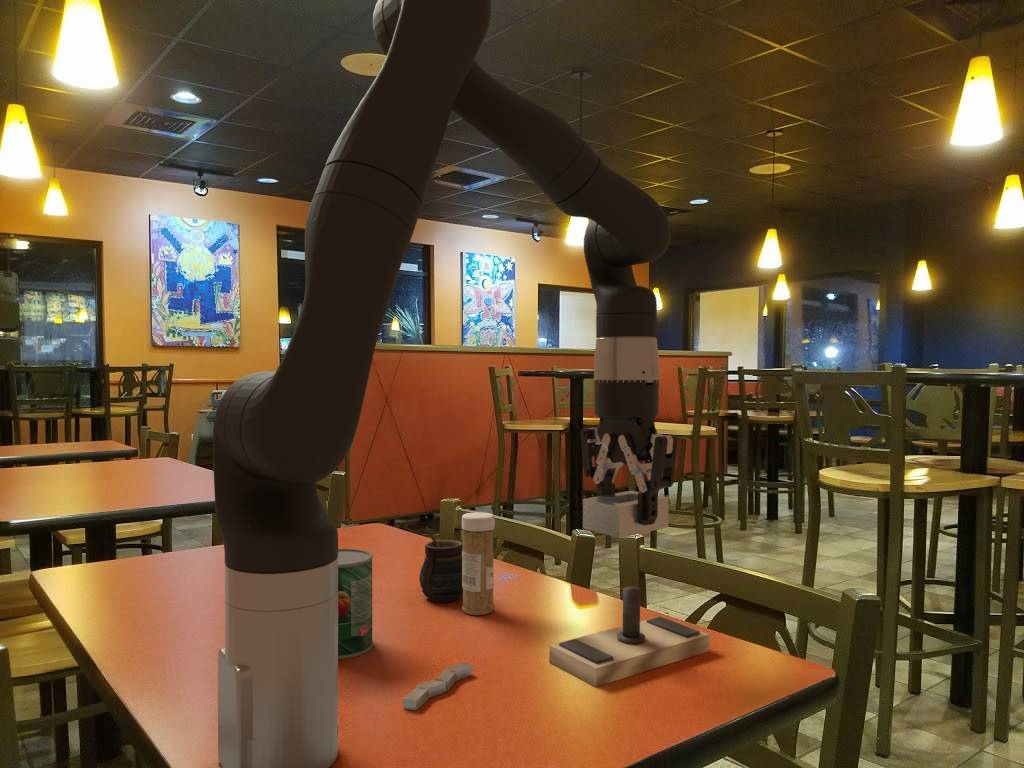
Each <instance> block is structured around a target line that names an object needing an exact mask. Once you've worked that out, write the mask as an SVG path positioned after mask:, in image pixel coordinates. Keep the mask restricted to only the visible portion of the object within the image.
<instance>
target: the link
mask: <svg viewBox="0 0 1024 768" xmlns="http://www.w3.org/2000/svg"><path fill="white" fill-rule="evenodd" d="M639 492H640V491H635V490H629V491H621V492H615V494H610V495H604V496H598V497H597V496H593V497H588V498H582V513H583V514H582V519H583V520H582V524H583V526H582V529H584V530H588V531H592V532H596V533H599V534H603V535H607V536H609V537H610V536H611V537H613V538H618V539H622V538H625V537H629V536H636V535H640V534H643V533H645V534H646V533H648V532H653V531H658V530H661V529H667V528H669V498H668V497H666V496H662V495H658V506H657V507H658V510H657V511H658V516H657V519H656V520H655V523H654V524H651V525H645V526H644V525H640V524H639V523H638V493H639Z"/></svg>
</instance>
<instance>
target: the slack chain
mask: <svg viewBox="0 0 1024 768" xmlns="http://www.w3.org/2000/svg"><path fill="white" fill-rule="evenodd" d="M472 675H473V665H472V664H470V663H467V662H464V661H463V662H460V663H457V664H455V665H453V666H452V665H451V666H449V667H446V668H444V670H443V671H442V672H441V673H440V674H439V675H438V676H437V677H436V678H435V679H432V680H429V681H425V682H423V683H420V684H415V688H413V690H411V691H410V692H409V693H408V694H407V695H405V696H404V697H403V699H402V700H403V707H402V708H403V709H405V710H410V711H411V710H412V711H417V710H419V709H420V707H422V706H423V705H424V704H425V703H426V702H427V701H429V699H430V698H432V697H435V696H439V695H442V694H445V693H447V692H449V690H450V689H451V688H452V687H453V686H454V684H455V683H456V681H459V680H462V679H465V678H467V677H470V676H472Z"/></svg>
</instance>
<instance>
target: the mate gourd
mask: <svg viewBox="0 0 1024 768" xmlns="http://www.w3.org/2000/svg"><path fill="white" fill-rule="evenodd" d="M424 527H425V526H424ZM425 529H426V530H427V532H428V535H429V536H430V538H431V540H432V541H429V542H427V543H425V544H424V553H425V554H424V555H425V556H424V557H425V558H424V561H423V563H422V566H421V569H420V571H419V572H420V573H419V578H418V579H419V583H420V588H421V593H423V595H424V596H425V597H426V598H427V599H428V600H430V601H432V602H434V603H436V602H437V603H450V602H454V601H457V600H459V599H460V598H461V597H463V587H462V550H463V542H461V541H459V540H452V539H446V540H445V539H443V540H438V539H437V538H436V537H435V535H434V534H433V532H432V531H431V529H430V527H429V526H426V527H425Z"/></svg>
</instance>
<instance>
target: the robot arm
mask: <svg viewBox="0 0 1024 768" xmlns="http://www.w3.org/2000/svg"><path fill="white" fill-rule="evenodd" d="M372 14H373V17H372V27H373V34H374V36H375V40H376V41H377V44H378V45H379V48H380V49H381V51H382V52H383V54H384V55H385V60H384V61H383V63H382V66H381V68H380V71H378V74H377V75H376V77H375V79H374V80H373V82H372V84H371V85H370V87H369V88H368V90H367V92H366V93H365V95H364V96H363V97H362V99H361V100H360V102H359V104H358V106H357V107H356V108H355V110H354V112H352V113H353V114H352V115H351V117H350V118H349V120H348V121H347V123H346V125H345V126H344V128H343V130H342V132H341V133H340V135H339V136H338V139H337V140H336V142H335V143H334V146H333V147H332V150H331V151H330V153H329V156H328V158H327V161H326V162H325V165H324V167H323V170H322V173H321V176H320V178H319V181H318V184H317V187H316V189H315V192H314V195H313V197H312V199H311V202H310V205H309V209H308V212H307V216H306V221H305V222H306V223H305V229H304V269H305V273H304V275H305V288H304V294H303V295H304V296H303V302H302V305H301V311H300V314H299V317H298V320H297V323H296V326H295V328H294V329H293V330H294V331H293V333H292V336H291V338H290V340H289V342H288V345H287V347H286V350H285V353H284V354H283V357H282V359H281V361H280V363H279V365H278V366H277V369H276V370H269V371H268V370H266V371H264V370H263V371H256V372H253V373H252V372H251V373H249V374H247V375H244V376H242V377H239V379H237V380H236V381H235V382H233V383H232V384H231V385H230V386H229V387H228V388H227V389H226V390H225V392H224V393H223V395H222V397H221V398H220V401H219V403H218V405H217V408H216V411H215V415H214V420H213V421H214V422H213V430H212V461H213V462H212V465H213V485H214V486H213V488H214V489H213V490H214V507H215V508H214V510H215V519H216V525H217V528H218V532H219V534H220V536H221V539H222V542H223V549H224V647H223V648H220V649H218V652H217V755H218V756H217V760H218V762H219V764H220V765H221V767H222V768H330V767H331V766H332V765H333V764H334V762H335V761H336V760H337V757H338V754H339V752H338V750H339V748H338V747H339V743H338V742H339V712H338V711H339V659H338V549H339V534H338V527H337V526H336V524H335V522H334V521H333V519H332V518H331V517H330V516H329V514H328V513H327V511H326V510H325V508H324V507H323V505H322V503H321V499H320V497H319V495H318V490H317V482H320V481H322V480H324V479H325V478H328V477H329V476H330V475H331V474H333V473H334V471H336V470H337V468H339V467H340V465H341V464H342V463H343V461H344V460H345V458H346V457H347V456H348V453H349V451H350V449H351V447H352V444H353V442H354V439H355V436H356V433H357V429H358V425H359V422H360V419H361V418H360V417H361V414H362V408H363V404H364V402H365V401H364V400H365V394H366V390H367V387H368V381H369V377H370V373H371V368H372V363H373V358H374V354H375V350H376V345H377V342H378V339H379V335H380V331H381V328H382V325H383V322H384V319H385V316H386V313H387V311H388V308H389V304H390V301H391V298H392V295H393V292H394V289H395V286H396V283H397V279H398V276H399V272H400V270H401V267H402V263H403V261H404V259H405V256H406V253H407V250H408V249H409V246H410V243H411V241H412V238H413V234H414V231H415V229H416V225H417V222H418V221H419V220H418V219H419V217H420V213H421V211H422V208H423V205H424V201H425V198H426V193H427V190H428V187H429V184H430V181H431V178H432V175H433V171H434V169H435V166H436V163H437V159H438V156H439V154H440V150H441V147H442V144H443V142H444V141H443V140H444V137H445V134H446V131H447V127H448V123H449V119H450V118H451V114H452V112H453V113H454V114H456V115H457V116H458V117H459V118H461V119H462V120H463V121H465V122H466V123H467V124H469V126H471V127H472V128H473V129H475V130H477V132H478V133H480V134H481V135H483V136H484V138H485V139H487V140H488V141H489V142H491V143H492V144H493V145H495V146H496V147H497V148H498V149H499V150H500V151H502V153H504V155H506V156H507V157H508V158H510V160H511V161H512V162H514V163H515V165H516V166H518V168H519V169H520V170H521V171H522V172H523V173H524V174H525V175H526V176H527V177H528V178H529V179H530V180H531V181H532V182H533V183H534V185H536V187H538V188H539V190H540V191H541V192H542V193H543V194H544V195H545V196H546V197H547V198H548V199H549V200H550V201H551V202H552V204H554V205H555V207H557V208H558V209H559V210H560V211H561V212H562V213H564V214H566V215H567V216H570V217H574V218H585V219H589V222H588V224H587V226H586V227H585V228H586V229H585V232H584V238H583V254H584V260H585V264H586V268H587V272H588V276H589V280H590V285H591V289H592V290H591V291H592V292H593V295H594V299H595V303H596V311H595V312H596V314H595V315H596V317H595V318H596V319H595V325H596V327H595V328H596V329H595V336H596V340H595V348H594V356H593V358H594V359H593V413H594V415H595V416H596V417H597V418H599V423H598V425H597V427H587V428H584V427H583V428H581V429H580V430H579V431H580V432H579V435H580V447H581V457H582V466H583V469H582V470H583V474H584V477H586V478H591V479H592V480H593V481H594V484H596V497H598V496H604V495H610V494H615V493H616V483H613V482H615V480H616V478H617V477H616V476H617V475H618V472H619V470H620V468H621V467H623V465H627V467H628V469H629V472H630V473H631V475H632V476H634V478H635V479H634V480H635V481H636V485H637V488H638V492H639V493H638V523H639V524H640V525H644V526H645V525H651V524H654V523H655V520H656V519H657V516H658V511H657V510H658V507H657V506H658V496H659V492H660V490H663V489H666V488H671V487H672V486H673V484H674V479H675V470H676V469H675V468H676V462H677V461H676V459H677V451H678V443H679V440H678V437H677V436H676V435H674V434H672V435H665V434H661V433H659V432H658V431H657V428H656V424H655V420H656V418H657V417H658V416H659V413H660V355H659V347H658V339H657V336H658V323H657V322H658V319H657V318H658V314H657V313H658V306H657V304H658V303H657V297H656V294H655V292H654V291H653V290H652V289H650V288H648V287H645V286H642V285H638V284H637V281H636V278H635V275H634V270H633V266H635V265H642V264H648V263H652V262H654V261H656V260H658V259H660V258H662V256H664V254H665V253H666V252H667V250H668V248H669V246H670V243H671V239H672V230H671V224H670V221H669V218H668V216H667V215H666V212H665V211H664V209H663V208H662V207H661V205H660V204H659V203H658V202H657V200H655V199H654V198H653V197H652V196H651V195H650V194H648V193H647V192H646V191H644V190H643V189H642V188H640V187H639V186H637V185H636V184H634V183H633V182H631V181H630V180H629V179H627V178H626V177H625V176H623V175H622V174H620V173H618V172H617V171H615V170H613V169H612V168H610V167H609V166H607V165H606V163H605V162H604V161H603V160H602V158H601V157H600V156H599V155H598V153H596V151H594V149H593V148H592V147H591V146H590V144H589V143H588V142H587V141H586V140H585V139H584V137H582V136H581V134H580V133H579V132H578V130H576V129H575V128H574V127H573V126H572V125H571V124H569V123H568V122H567V121H566V120H564V119H563V118H562V117H561V116H560V115H558V114H556V113H555V112H553V111H552V110H550V109H548V108H547V107H545V106H542V105H540V104H538V103H537V102H535V101H533V100H531V99H530V98H529V99H528V98H526V97H524V96H523V95H521V94H519V93H517V92H516V91H515V90H514V91H513V90H512V89H511V88H508V87H507V86H506V85H504V84H503V83H501V82H500V81H498V80H497V79H496V78H494V77H493V76H491V75H490V74H489V72H487V71H486V70H485V69H484V68H483V67H482V66H481V65H480V64H479V63H478V62H477V61H476V57H477V54H478V52H479V50H480V48H481V47H482V44H483V43H484V40H485V38H486V36H487V33H488V30H489V27H490V22H491V17H492V0H377V2H376V4H375V7H374V10H373V13H372ZM592 458H594V465H593V459H592ZM643 462H645V463H643Z"/></svg>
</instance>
